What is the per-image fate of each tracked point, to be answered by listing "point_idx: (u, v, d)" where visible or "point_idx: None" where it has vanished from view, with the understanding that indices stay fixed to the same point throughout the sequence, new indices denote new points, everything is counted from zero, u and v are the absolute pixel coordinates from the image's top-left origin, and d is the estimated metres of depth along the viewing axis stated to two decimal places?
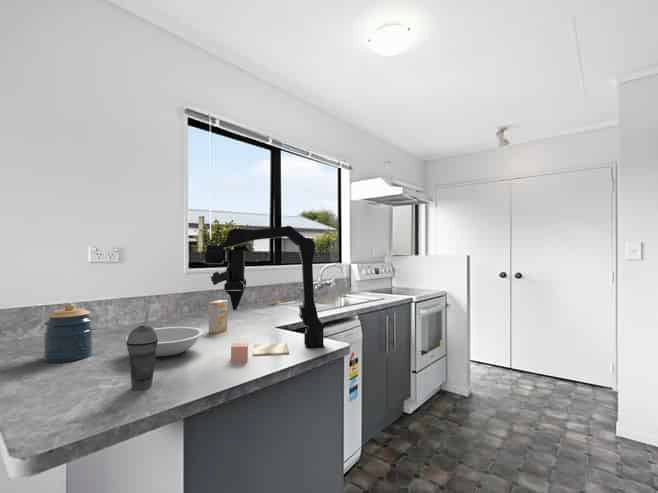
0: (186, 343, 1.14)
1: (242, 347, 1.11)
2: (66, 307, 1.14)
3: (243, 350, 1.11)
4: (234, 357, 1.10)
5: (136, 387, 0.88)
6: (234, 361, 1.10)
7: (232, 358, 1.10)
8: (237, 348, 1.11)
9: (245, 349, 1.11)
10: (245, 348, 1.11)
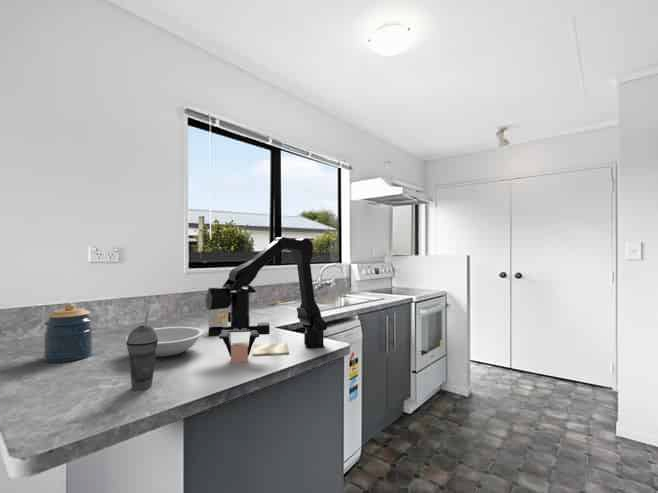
0: (186, 343, 1.14)
1: (242, 347, 1.11)
2: (66, 307, 1.14)
3: (243, 350, 1.11)
4: (234, 356, 1.10)
5: (136, 387, 0.88)
6: (234, 361, 1.10)
7: (232, 358, 1.10)
8: (237, 348, 1.11)
9: (245, 349, 1.11)
10: (245, 348, 1.11)
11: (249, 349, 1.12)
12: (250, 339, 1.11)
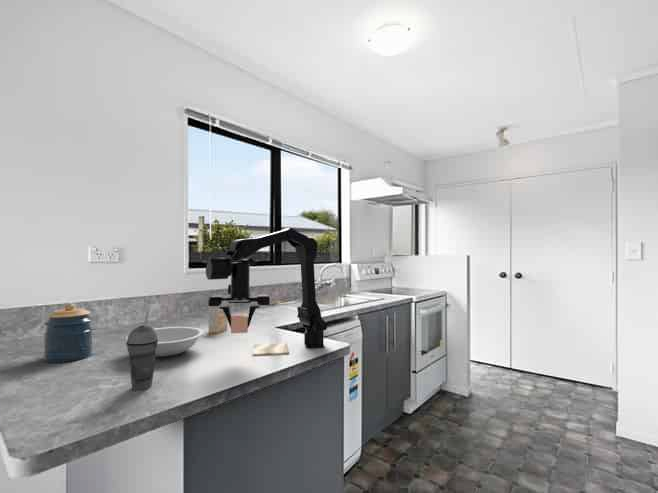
0: (186, 343, 1.14)
1: (242, 317, 1.11)
2: (66, 307, 1.14)
3: (243, 320, 1.11)
4: (234, 327, 1.10)
5: (136, 387, 0.88)
6: (234, 331, 1.10)
7: (232, 328, 1.10)
8: (237, 318, 1.11)
9: (245, 319, 1.11)
10: (245, 318, 1.11)
11: (249, 320, 1.12)
12: (250, 310, 1.11)
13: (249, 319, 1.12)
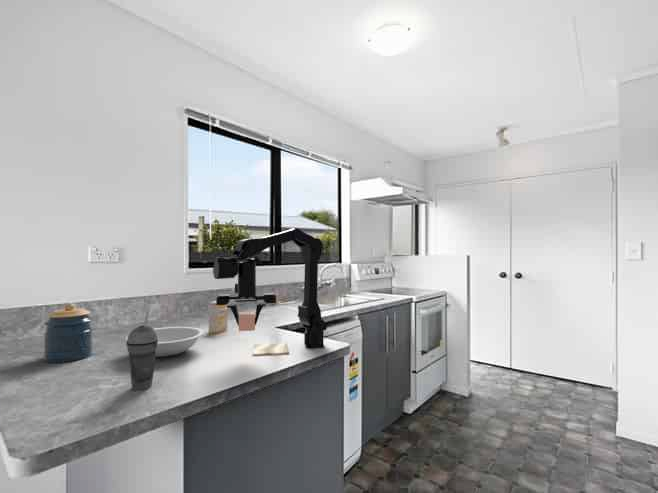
0: (186, 343, 1.14)
1: (249, 315, 1.13)
2: (66, 307, 1.14)
3: (250, 318, 1.13)
4: (242, 325, 1.13)
5: (136, 387, 0.88)
6: (242, 329, 1.13)
7: (240, 326, 1.13)
8: (244, 316, 1.13)
9: (252, 317, 1.13)
10: (252, 316, 1.13)
11: (256, 318, 1.15)
12: (257, 308, 1.14)
13: (256, 317, 1.15)
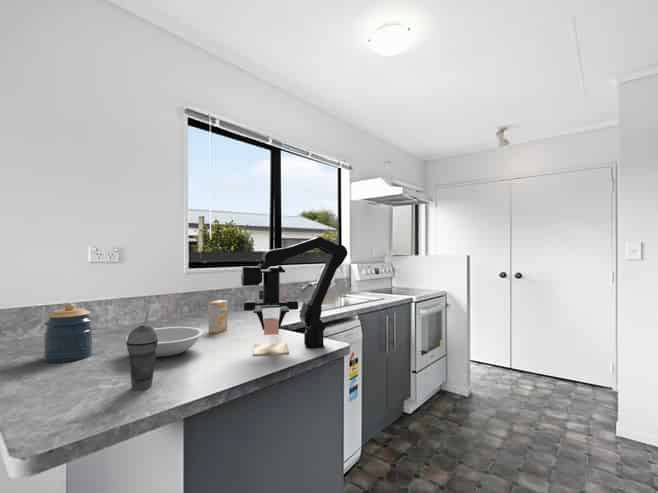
0: (186, 343, 1.14)
1: (274, 320, 1.23)
2: (66, 307, 1.14)
3: (275, 323, 1.23)
4: (267, 329, 1.22)
5: (136, 387, 0.88)
6: (267, 333, 1.22)
7: (265, 330, 1.22)
8: (269, 321, 1.22)
9: (276, 322, 1.23)
10: (276, 321, 1.23)
11: (280, 323, 1.24)
12: (281, 314, 1.23)
13: (280, 322, 1.24)
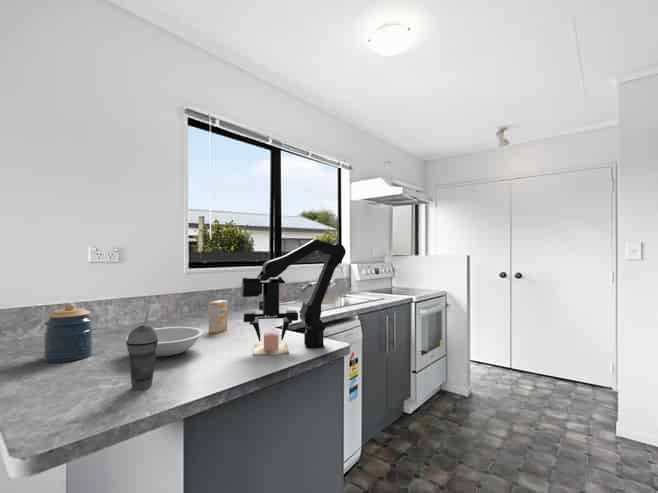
0: (186, 343, 1.14)
1: (274, 336, 1.23)
2: (66, 307, 1.14)
3: (274, 339, 1.22)
4: (267, 345, 1.22)
5: (136, 387, 0.88)
6: (266, 349, 1.22)
7: (265, 346, 1.22)
8: (269, 337, 1.22)
9: (276, 338, 1.23)
10: (276, 337, 1.23)
11: (283, 334, 1.24)
12: (284, 325, 1.23)
13: (283, 333, 1.24)
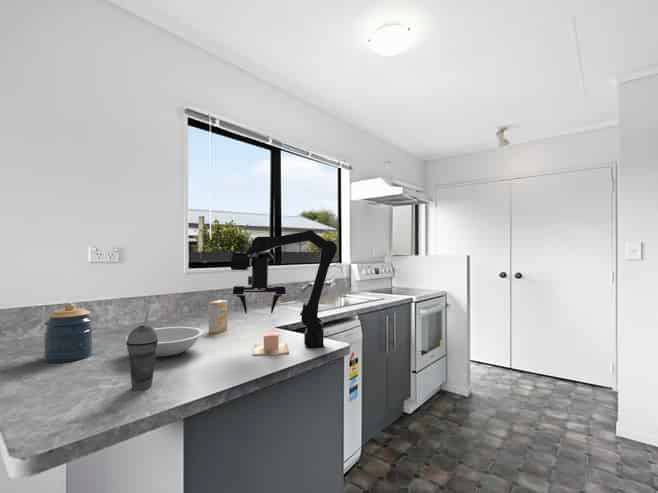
0: (186, 343, 1.14)
1: (274, 336, 1.23)
2: (66, 307, 1.14)
3: (274, 339, 1.22)
4: (267, 345, 1.22)
5: (136, 387, 0.88)
6: (266, 349, 1.22)
7: (265, 346, 1.22)
8: (269, 337, 1.22)
9: (276, 338, 1.23)
10: (276, 337, 1.23)
11: (273, 307, 1.29)
12: (274, 298, 1.28)
13: (273, 306, 1.29)
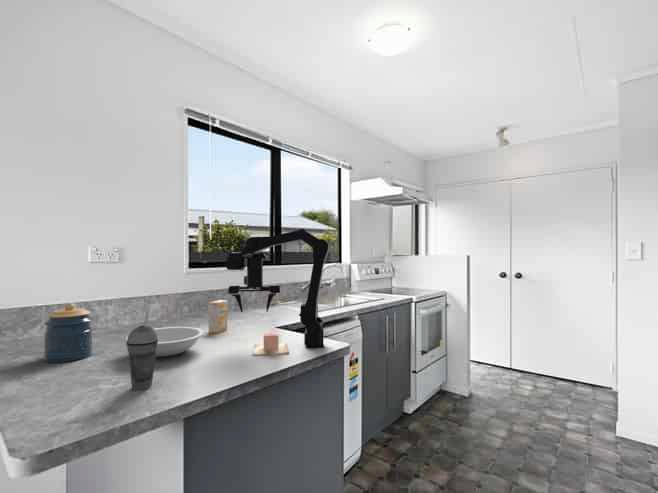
0: (186, 343, 1.14)
1: (274, 336, 1.23)
2: (66, 307, 1.14)
3: (274, 339, 1.22)
4: (267, 345, 1.22)
5: (136, 387, 0.88)
6: (266, 349, 1.22)
7: (265, 346, 1.22)
8: (269, 337, 1.22)
9: (276, 338, 1.23)
10: (276, 337, 1.23)
11: (268, 306, 1.32)
12: (269, 297, 1.31)
13: (268, 305, 1.32)
